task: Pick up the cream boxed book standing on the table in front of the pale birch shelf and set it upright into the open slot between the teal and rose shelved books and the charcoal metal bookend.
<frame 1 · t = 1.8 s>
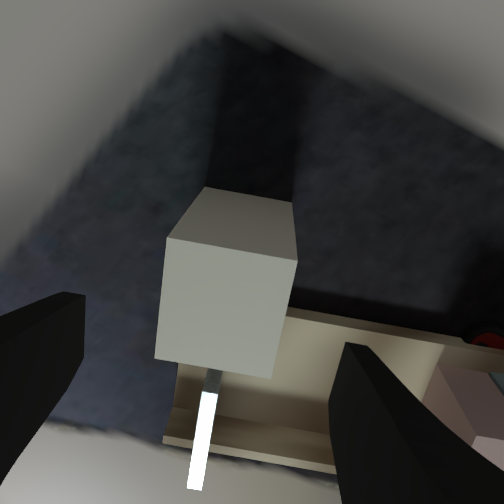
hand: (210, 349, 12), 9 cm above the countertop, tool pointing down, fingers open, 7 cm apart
shelved books: (463, 398, 23), resting on shelf board
bookend: (220, 355, 23), resting on shelf board
shelf board: (352, 378, 23), on the countertop
book: (240, 239, 20), on the countertop
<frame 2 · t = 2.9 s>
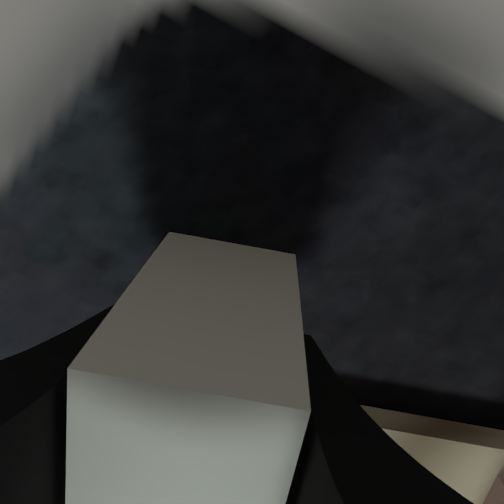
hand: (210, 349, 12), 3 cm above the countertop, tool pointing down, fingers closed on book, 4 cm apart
shelf board: (377, 483, 17), on the countertop
book: (222, 304, 14), on the countertop, touching gripper
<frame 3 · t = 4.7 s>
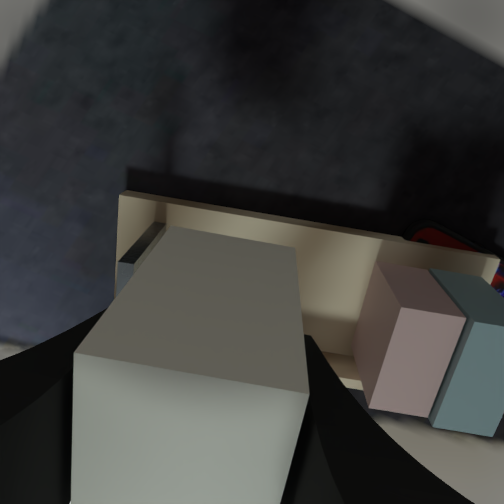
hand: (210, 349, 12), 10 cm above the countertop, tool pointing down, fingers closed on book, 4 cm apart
smartphone: (490, 332, 23), on the countertop
shelved books: (407, 304, 22), resting on shelf board
bookend: (161, 262, 22), resting on shelf board
shelf board: (295, 285, 22), on the countertop
book: (223, 297, 15), point 7 cm above the countertop, touching gripper
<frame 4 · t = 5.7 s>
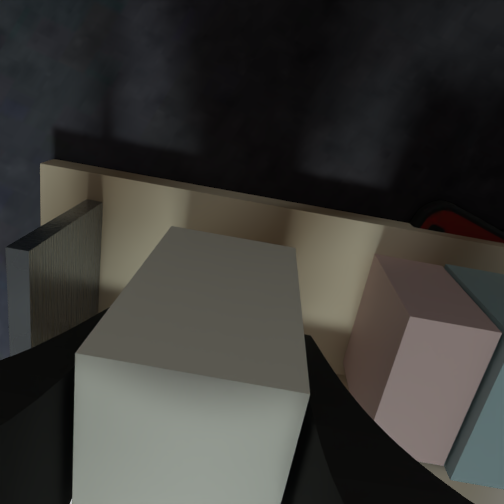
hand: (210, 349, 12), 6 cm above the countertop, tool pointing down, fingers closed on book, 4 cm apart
shelved books: (415, 309, 18), resting on shelf board
bookend: (102, 253, 18), resting on shelf board
shelf board: (272, 284, 18), on the countertop
book: (223, 297, 15), point 3 cm above the countertop, touching gripper
when the fingers open (4 cm above the countertop, at t = 6.4 s): book stays where it is, resting on shelf board.
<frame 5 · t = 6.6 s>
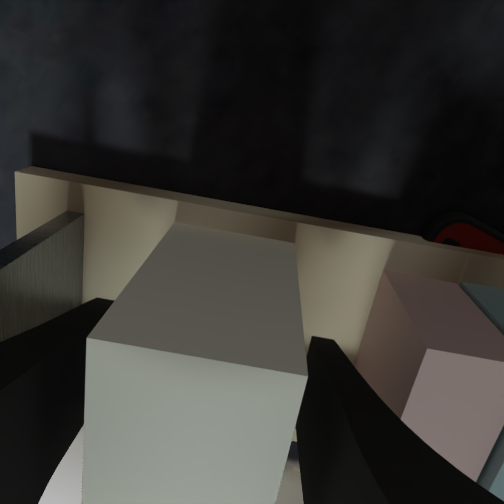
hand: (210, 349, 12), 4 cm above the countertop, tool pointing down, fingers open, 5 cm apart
shelved books: (426, 329, 16), resting on shelf board
bookend: (86, 268, 16), resting on shelf board
shelf board: (271, 301, 16), on the countertop
book: (225, 291, 15), point 1 cm above the countertop, touching shelf board
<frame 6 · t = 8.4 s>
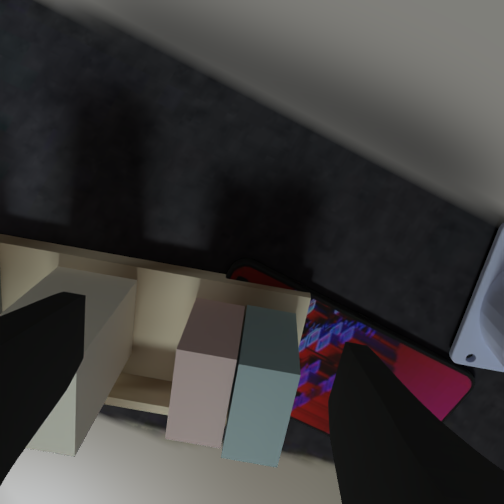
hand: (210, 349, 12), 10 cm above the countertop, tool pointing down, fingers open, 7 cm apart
smartphone: (325, 362, 25), on the countertop
shelved books: (240, 335, 24), resting on shelf board
bookend: (7, 294, 24), resting on shelf board
shelf board: (133, 316, 24), on the countertop
book: (96, 311, 23), point 1 cm above the countertop, touching shelf board
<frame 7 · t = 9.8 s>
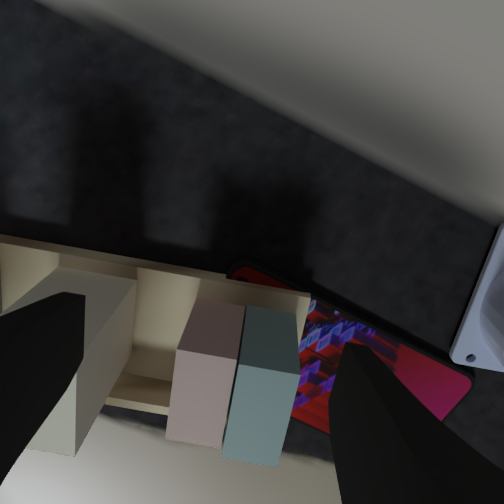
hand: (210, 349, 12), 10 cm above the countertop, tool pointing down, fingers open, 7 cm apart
smartphone: (325, 362, 25), on the countertop
shelved books: (240, 335, 24), resting on shelf board
bookend: (7, 294, 24), resting on shelf board
shelf board: (134, 317, 24), on the countertop
book: (96, 311, 23), point 1 cm above the countertop, touching shelf board
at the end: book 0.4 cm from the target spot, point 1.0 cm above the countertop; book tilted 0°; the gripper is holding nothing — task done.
